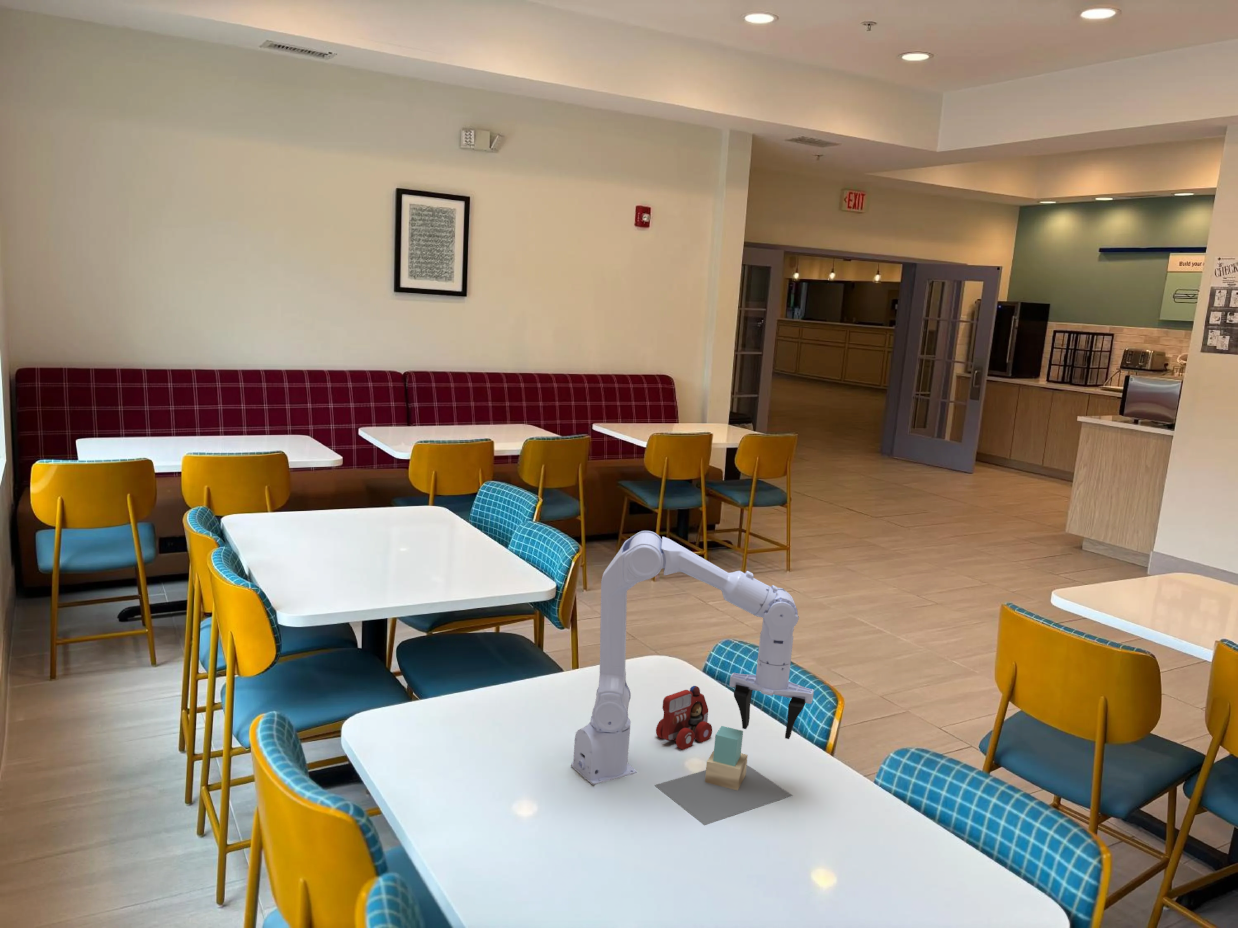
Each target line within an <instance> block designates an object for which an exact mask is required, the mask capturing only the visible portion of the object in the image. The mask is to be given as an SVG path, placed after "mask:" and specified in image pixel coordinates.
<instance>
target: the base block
mask: <svg viewBox="0 0 1238 928" xmlns="http://www.w3.org/2000/svg"><path fill="white" fill-rule="evenodd" d="M748 755H749V754H747V753H742V752H741V757H740V759H739V760H738V762H737V764H736V765H735V766H731V765H727V764H723V763H719V762H715V761H713V756H714V750H712V752H711V753H710V755H709V757H708V759H707V760H706V765H705V768H706V769H705V770H706V775H705V782H706V783H710V784H714V785H718V786H722V787H726V788H730V789H734V790H738V789H739V787H740V785H741V783H742V781H743V779H744V777H745V775H746V767H747V765H748V757H749V756H748Z"/></svg>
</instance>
